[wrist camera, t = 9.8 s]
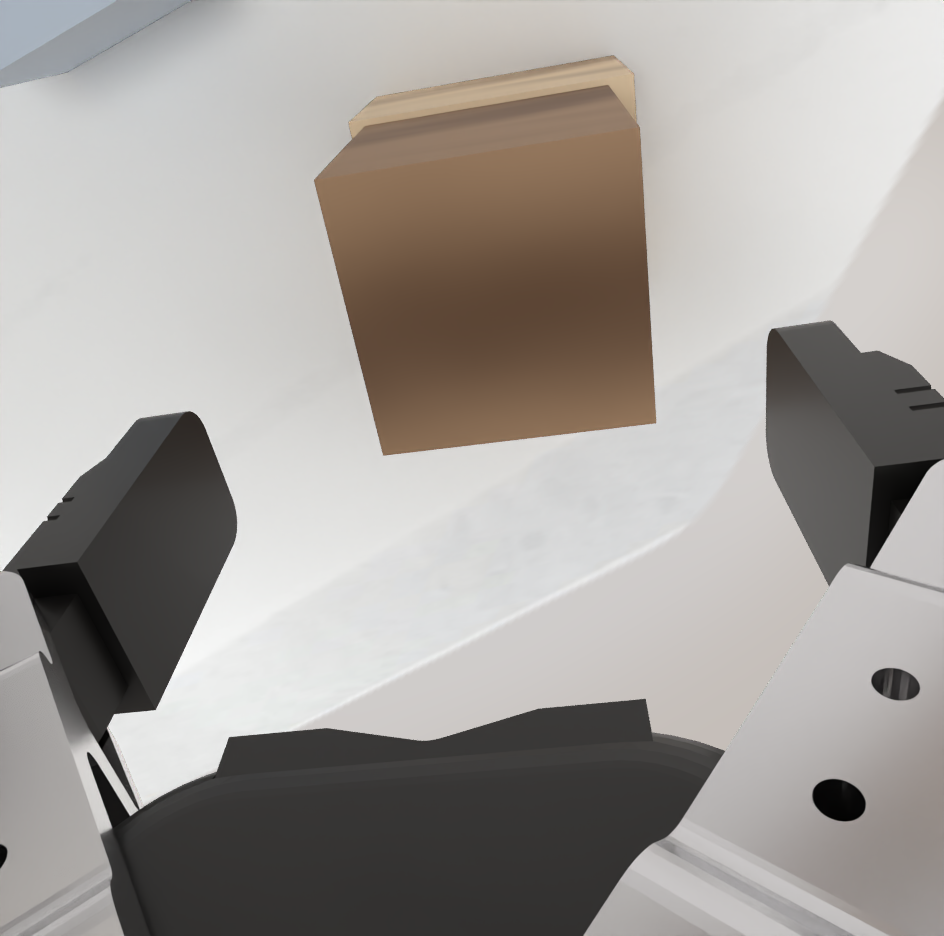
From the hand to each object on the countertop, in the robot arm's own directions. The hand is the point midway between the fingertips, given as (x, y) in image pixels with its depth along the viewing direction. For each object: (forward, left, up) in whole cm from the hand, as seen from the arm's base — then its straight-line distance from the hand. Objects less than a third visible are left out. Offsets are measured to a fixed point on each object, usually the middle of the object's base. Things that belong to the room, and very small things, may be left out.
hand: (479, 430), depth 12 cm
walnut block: (0, 0, -12) cm, 12 cm away
